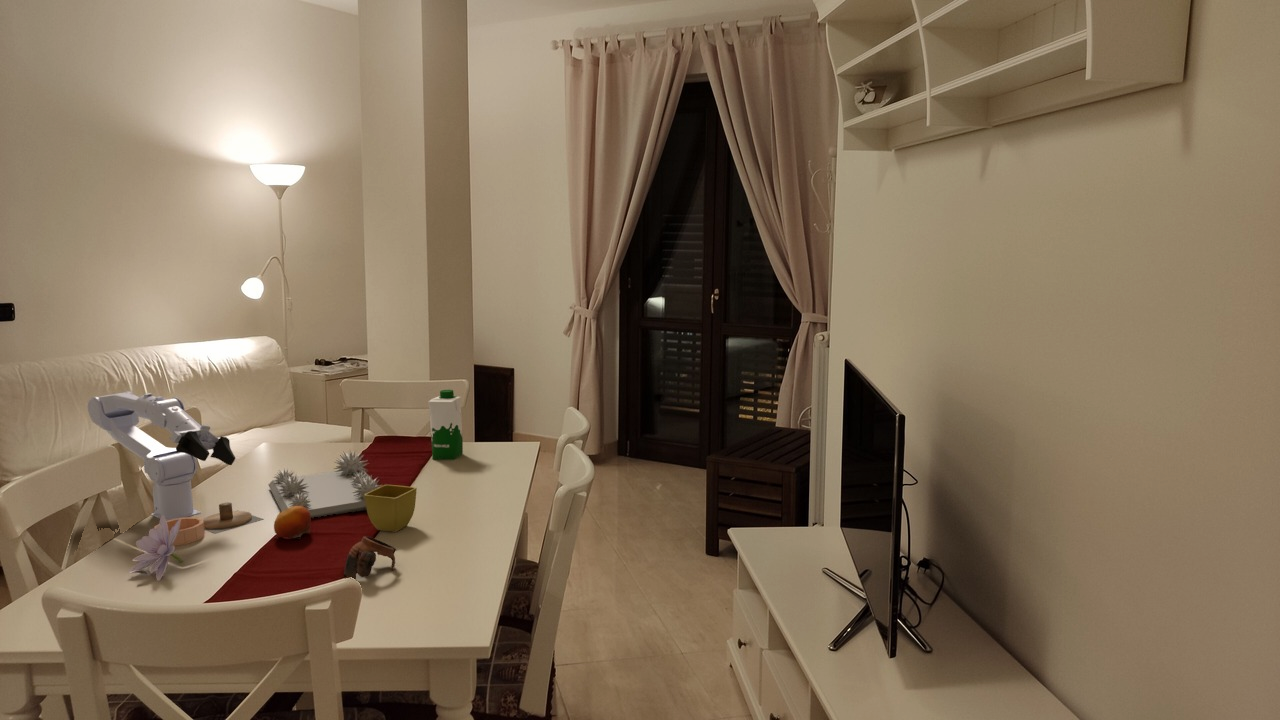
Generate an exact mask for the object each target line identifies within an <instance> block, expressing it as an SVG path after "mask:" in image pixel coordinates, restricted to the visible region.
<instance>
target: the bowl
mask: <svg viewBox="0 0 1280 720" xmlns="http://www.w3.org/2000/svg"><path fill="white" fill-rule="evenodd" d="M180 519H181V523H180V528H179V531H178V534H177V536H176V538H175V540H174V542H173V544H172V545H171V547H172V546H174V547H175V546H182V545H187V544H191V543H193V542H197V541H199V540H201V539H202V538H204V537H205V534H206V530H205V527H204V518H201V517H193V516H189V517H185V518H178V519H173V520H169V521H166V522H167V525H168V532H169V537H170V531H171V529H172V527H173V526H175V524H176V523H177V522H178V521H179V520H180ZM158 526H159V523H158V524H156V525H154V527H153V529H156V530H157V528H158ZM168 542H169V541H168Z"/></svg>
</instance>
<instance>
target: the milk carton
mask: <svg viewBox="0 0 1280 720" xmlns="http://www.w3.org/2000/svg"><path fill="white" fill-rule="evenodd" d="M427 403H428V408H429V409H428V410H429V419H430V422H429V423H430V436H431V437H430V438H431V454H432V456H431V457H432V460H450V461H451V460H453V461H454V460H456V459H457V458H459V457H461V456H462V455H463V454H464V453H463V452H464V451H463V449H464V447H463V445H464V443H463V439H464V438H463V424H462V422H463V421H462V396H457V395H456V396H455V395H454V390H453V389H443V390H439V396H436V397H433V398H430V400H428V401H427Z"/></svg>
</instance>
